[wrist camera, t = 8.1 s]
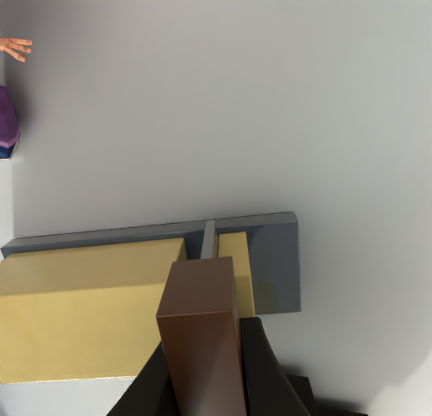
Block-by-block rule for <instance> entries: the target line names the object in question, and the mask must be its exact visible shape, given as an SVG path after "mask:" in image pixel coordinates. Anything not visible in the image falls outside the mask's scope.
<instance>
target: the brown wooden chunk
mask: <svg viewBox="0 0 432 416" xmlns="http://www.w3.org/2000/svg"><path fill="white" fill-rule="evenodd" d="M218 244H219V241H218V234H217V227H216V221H215V220H208V221H206V226H205V233H204V239H203V246H202V252H201V258H200V259H195V260H185V261H174V262H172V265H171V268H170V272H169V275H168V278H167V281H166V284H165V287H164V291H163V294H162V297H161V300H160V303H159V307H158V310H157V313H156V321H157V325H158V329H159V333H160V337H161V341H162V345H163V349H164V353H165V357H166V361H167V365H168V370H169V374H170V378H171V382H172V386H173V390H174V394H175V398H176V402H177V406H178V410H179V414H180V416H250V409H249V401H248V393H247V385H246V378H245V370H244V362H243V354H242V346H241V323H240V315H239V307H238V299H237V291H236V283H235V275H234V267H233V259H232V256H227V257H218Z"/></svg>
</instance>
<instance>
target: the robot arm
mask: <svg viewBox="0 0 432 416" xmlns="http://www.w3.org/2000/svg"><path fill="white" fill-rule="evenodd" d="M240 323H241V346H242V354H243V362H244V370H245V378H246V385H247V393H248V401H249V409H250V416H311V415H310V413H309V412H308V411H307V409H306V408H305V406H304V405H303V403H302V402H301V400H300V399H299V397H298V395H297V394H296V392H295V391H294V389H293V387H292V386H291V384H290V382H289V381H288V379H287V377H286V375H285V374H284V372H283V370H282V368H281V366H280V364H279V363H278V361H277V359H276V357H275V355H274V353H273V351H272V349H271V347H270V344H269V342H268V340H267V337H266V335H265V332H264V329H263V326H262V322H261V319H260V318H258V317H249V318H240ZM106 416H180V414H179V410H178V406H177V402H176V398H175V394H174V390H173V386H172V382H171V378H170V374H169V370H168V365H167V361H166V357H165V353H164V349H163V345H162V341H160V343H159V344H158V346H157V347H156V349H155V351H154V352H153V354H152V355H151V357H150V358H149V360H148V361H147V363H146V364H145V365H144V367H143V368H142V370H141V371H140V373H139V374H138V376H137V377H136V378H135V380H134V381H133V382H132V384H131V385H130V386H129V388H128V389H127V390H126V392H125V393H124V394H123V396H122V397H121V398H120V399H119V401H118V402H117V403H116V404H115V406H114V407H113V408H112V409H111V411H110V412H109V413H108V414H107V415H106Z"/></svg>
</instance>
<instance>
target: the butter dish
mask: <svg viewBox="0 0 432 416" xmlns="http://www.w3.org/2000/svg"><path fill="white" fill-rule="evenodd" d="M206 221H208V220H204V221H194V222H184V223H174V224H164V225H153V226H143V227H133V228H123V229H112V230H102V231H92V232H82V233H72V234H61V235H51V236H41V237H31V238H21V239H13V240H11V241H10V242H8V243H7V244H6V245H4V246H3V247H1V248H0V250H1V252H2V255H3V257H4V260H2V261H1V262H0V384H9V383H27V382H45V381H64V380H82V379H101V378H119V377H137V376H138V374H139V373H140V371H141V370H142V368H143V367H144V365H145V364H146V363H147V361H148V360H149V358H150V357H151V355H152V354H153V352H154V351H155V349H156V347H157V346H158V344H159V343H160V341H161V337H160V333H159V329H158V325H157V321H156V313H157V310H158V307H159V303H160V300H161V297H162V294H163V291H164V287H165V284H166V281H167V278H168V275H169V272H170V268H171V265H172V262H174V261H185V260H195V259H200V258H201V252H202V246H203V239H204V233H205V226H206ZM215 221H216V227H217V234H218V241H219V235H220V234H226V233H236V232H246V238H247V247H248V255H249V264H250V272H251V281H252V291H253V301H254V311H255V315H262V314H277V313H291V312H301V295H300V266H299V238H298V220H297V218H296V216H295V214H294V212H286V213H276V214H266V215H255V216H245V217H235V218H225V219H215Z"/></svg>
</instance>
